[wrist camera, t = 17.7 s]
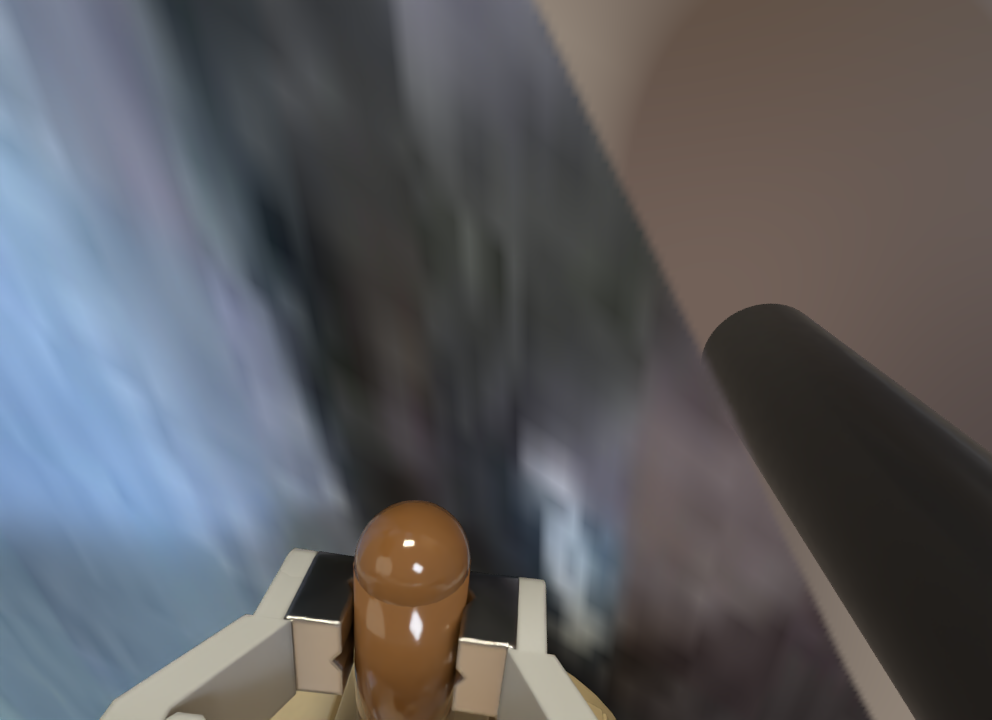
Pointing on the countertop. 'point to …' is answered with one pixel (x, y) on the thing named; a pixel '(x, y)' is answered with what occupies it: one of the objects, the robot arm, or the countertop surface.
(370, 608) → the tan scoop with handle
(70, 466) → the countertop surface
